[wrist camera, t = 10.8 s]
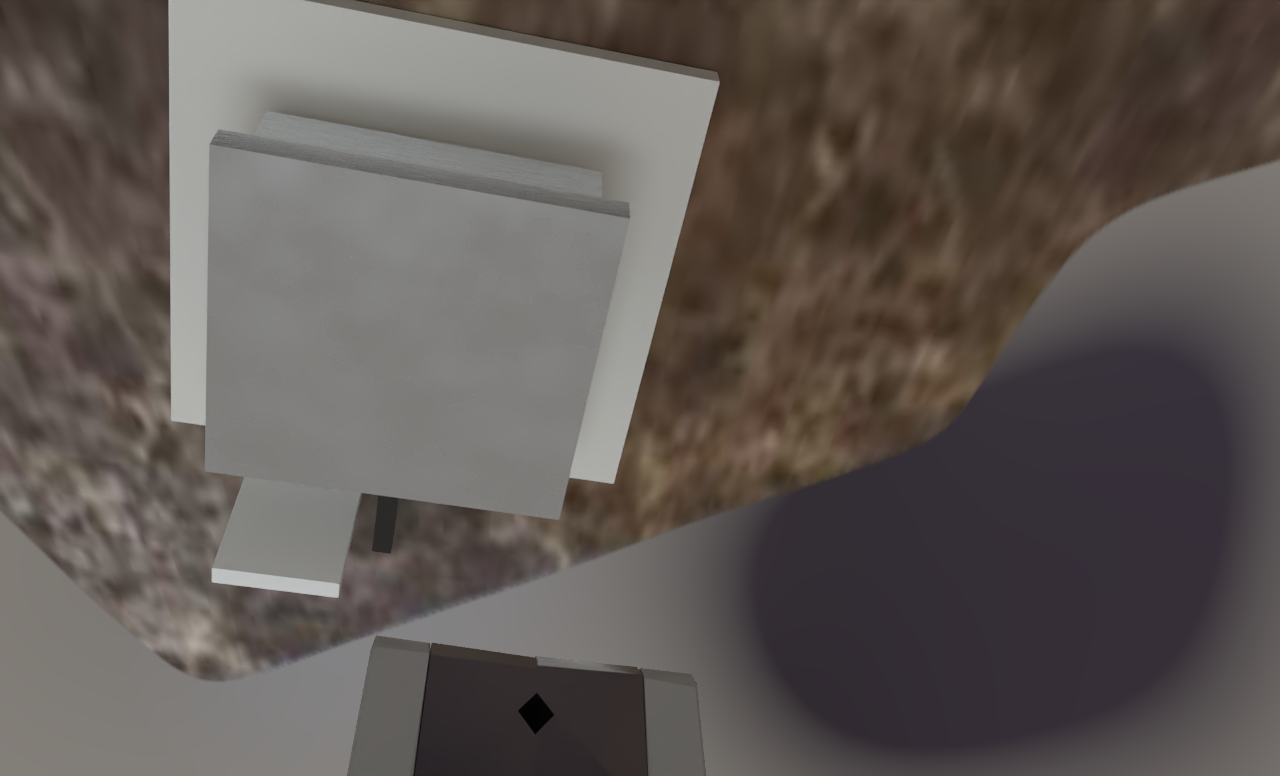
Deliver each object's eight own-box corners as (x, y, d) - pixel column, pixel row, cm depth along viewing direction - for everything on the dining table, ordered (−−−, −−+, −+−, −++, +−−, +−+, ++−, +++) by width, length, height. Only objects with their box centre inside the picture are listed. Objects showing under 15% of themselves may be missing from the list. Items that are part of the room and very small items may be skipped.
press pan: (626, 156, 46) (630, 218, 42) (541, 530, 57) (538, 608, 53) (244, 85, 44) (209, 143, 40) (232, 488, 55) (203, 566, 50)
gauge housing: (717, 71, 47) (742, 176, 39) (606, 497, 59) (608, 636, 52) (176, -35, 44) (93, 55, 36) (177, 436, 56) (115, 575, 48)
